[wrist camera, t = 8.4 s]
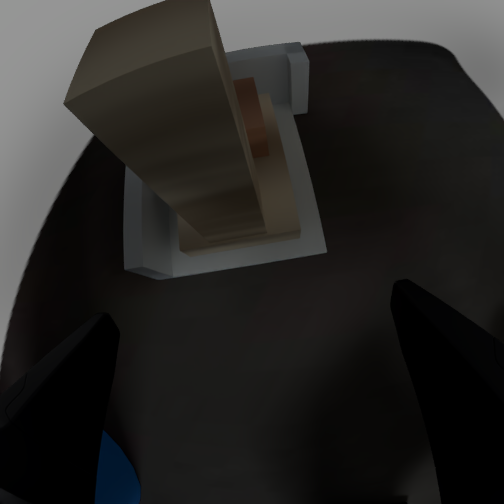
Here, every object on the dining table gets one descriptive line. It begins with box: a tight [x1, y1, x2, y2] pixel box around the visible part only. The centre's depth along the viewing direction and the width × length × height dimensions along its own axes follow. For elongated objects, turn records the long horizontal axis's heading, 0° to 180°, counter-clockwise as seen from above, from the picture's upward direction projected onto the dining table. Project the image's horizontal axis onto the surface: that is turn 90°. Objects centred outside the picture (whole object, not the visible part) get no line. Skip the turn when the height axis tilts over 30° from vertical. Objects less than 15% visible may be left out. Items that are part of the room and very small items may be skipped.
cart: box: [63, 0, 301, 257], centre depth 11 cm, size 9×6×13 cm, turn 8°
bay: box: [123, 42, 327, 280], centre depth 15 cm, size 12×11×5 cm
